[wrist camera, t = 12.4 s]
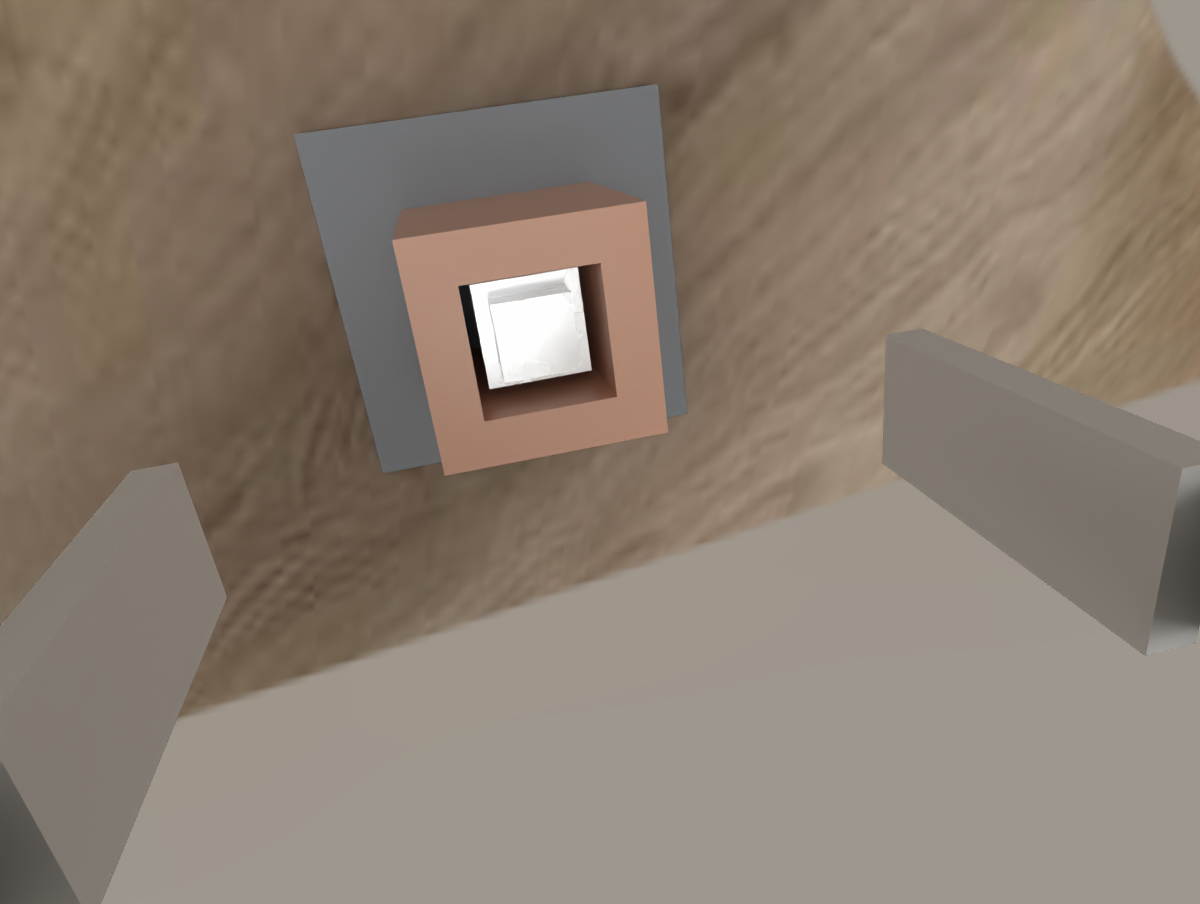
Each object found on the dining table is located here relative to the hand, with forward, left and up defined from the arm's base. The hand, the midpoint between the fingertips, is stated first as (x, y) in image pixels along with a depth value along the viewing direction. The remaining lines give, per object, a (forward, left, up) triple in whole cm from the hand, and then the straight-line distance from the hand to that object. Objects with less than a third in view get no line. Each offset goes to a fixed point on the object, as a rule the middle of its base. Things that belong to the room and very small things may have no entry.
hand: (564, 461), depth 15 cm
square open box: (+1, -1, -20) cm, 20 cm away
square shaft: (+1, -1, -20) cm, 20 cm away
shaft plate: (+1, -1, -21) cm, 21 cm away
